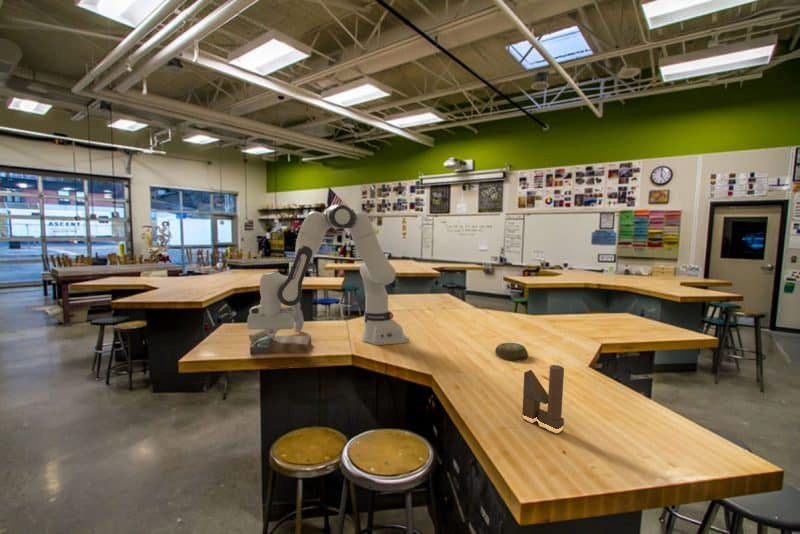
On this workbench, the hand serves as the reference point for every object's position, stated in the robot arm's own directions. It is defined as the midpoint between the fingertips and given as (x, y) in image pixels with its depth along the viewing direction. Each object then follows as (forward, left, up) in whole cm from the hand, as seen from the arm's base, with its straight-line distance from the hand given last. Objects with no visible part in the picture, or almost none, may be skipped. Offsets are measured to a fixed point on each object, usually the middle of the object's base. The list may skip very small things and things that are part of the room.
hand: (271, 338), depth 168 cm
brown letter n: (-93, +72, -5) cm, 117 cm away
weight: (-106, +15, -5) cm, 107 cm away
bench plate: (-9, 0, -5) cm, 10 cm away
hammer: (+2, -19, -5) cm, 20 cm away
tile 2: (+3, 0, -2) cm, 4 cm away
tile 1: (+4, 0, -2) cm, 4 cm away
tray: (+3, 0, -5) cm, 6 cm away
